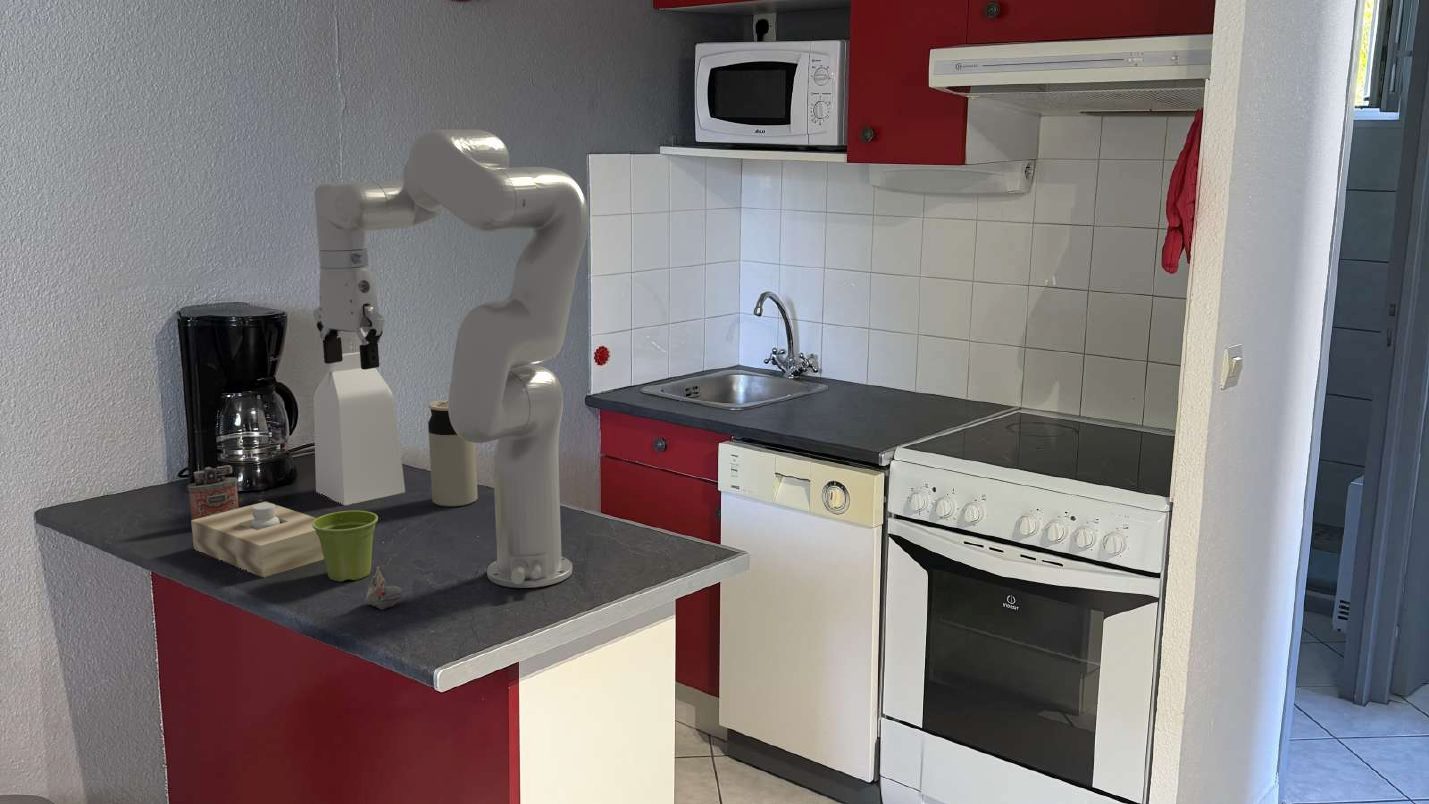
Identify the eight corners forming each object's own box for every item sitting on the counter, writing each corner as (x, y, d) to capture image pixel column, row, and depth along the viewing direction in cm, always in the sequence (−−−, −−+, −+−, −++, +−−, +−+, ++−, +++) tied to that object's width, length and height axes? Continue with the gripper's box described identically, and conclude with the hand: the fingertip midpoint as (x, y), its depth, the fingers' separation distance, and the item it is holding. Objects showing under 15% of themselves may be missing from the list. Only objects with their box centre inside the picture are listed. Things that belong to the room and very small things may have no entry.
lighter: (195, 531, 205) (189, 474, 203) (188, 527, 208) (183, 469, 206) (244, 522, 210) (238, 465, 208) (237, 517, 213) (232, 461, 211)
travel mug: (486, 498, 223) (482, 401, 219) (456, 510, 216) (451, 410, 213) (453, 492, 227) (448, 397, 223) (423, 503, 220) (417, 405, 216)
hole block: (338, 554, 193) (336, 524, 192) (263, 577, 184) (260, 545, 182) (268, 530, 206) (265, 501, 205) (194, 550, 196) (191, 520, 195)
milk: (344, 505, 220) (334, 361, 214) (316, 492, 228) (305, 353, 222) (405, 492, 227) (396, 353, 222) (375, 480, 236) (366, 346, 230)
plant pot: (349, 590, 178) (344, 533, 176) (302, 579, 183) (298, 523, 181) (394, 570, 186) (391, 515, 184) (349, 560, 191) (345, 507, 189)
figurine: (409, 598, 175) (399, 558, 173) (400, 610, 170) (390, 570, 169) (373, 602, 175) (363, 563, 174) (363, 615, 171) (353, 576, 169)
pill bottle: (247, 556, 193) (242, 509, 191) (263, 547, 197) (259, 501, 195) (272, 558, 192) (267, 511, 190) (287, 549, 196) (283, 502, 194)
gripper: (397, 261, 196) (404, 367, 199) (331, 256, 206) (339, 357, 210) (357, 265, 190) (365, 374, 194) (292, 260, 200) (300, 363, 204)
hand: (351, 365), depth 202 cm, fingers open, 9 cm apart
